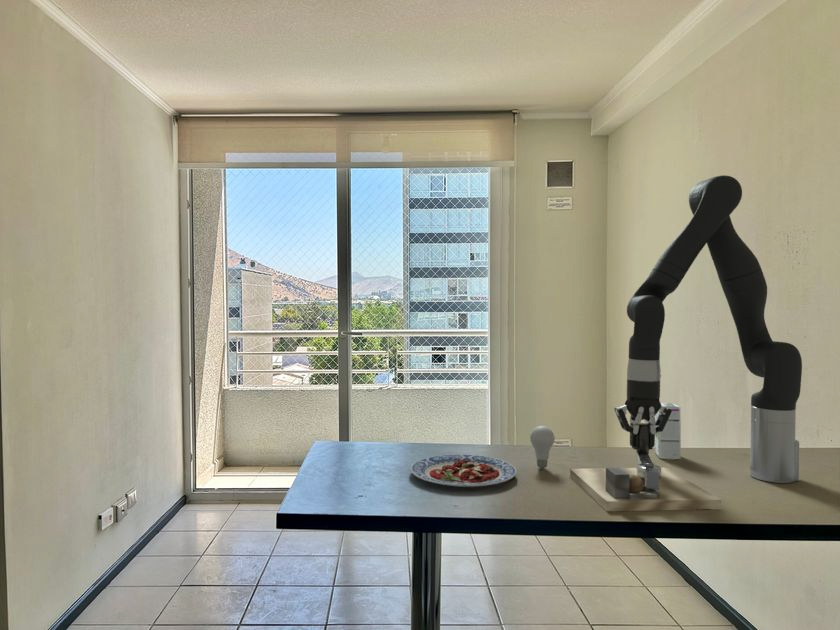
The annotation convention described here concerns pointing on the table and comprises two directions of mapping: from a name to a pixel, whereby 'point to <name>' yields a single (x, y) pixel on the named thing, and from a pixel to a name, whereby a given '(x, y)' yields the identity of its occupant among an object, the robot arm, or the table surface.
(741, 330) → the robot arm
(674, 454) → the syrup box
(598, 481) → the base
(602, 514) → the table surface
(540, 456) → the lightbulb
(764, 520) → the table surface
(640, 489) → the walnut
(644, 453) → the lever
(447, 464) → the ceramic plate
